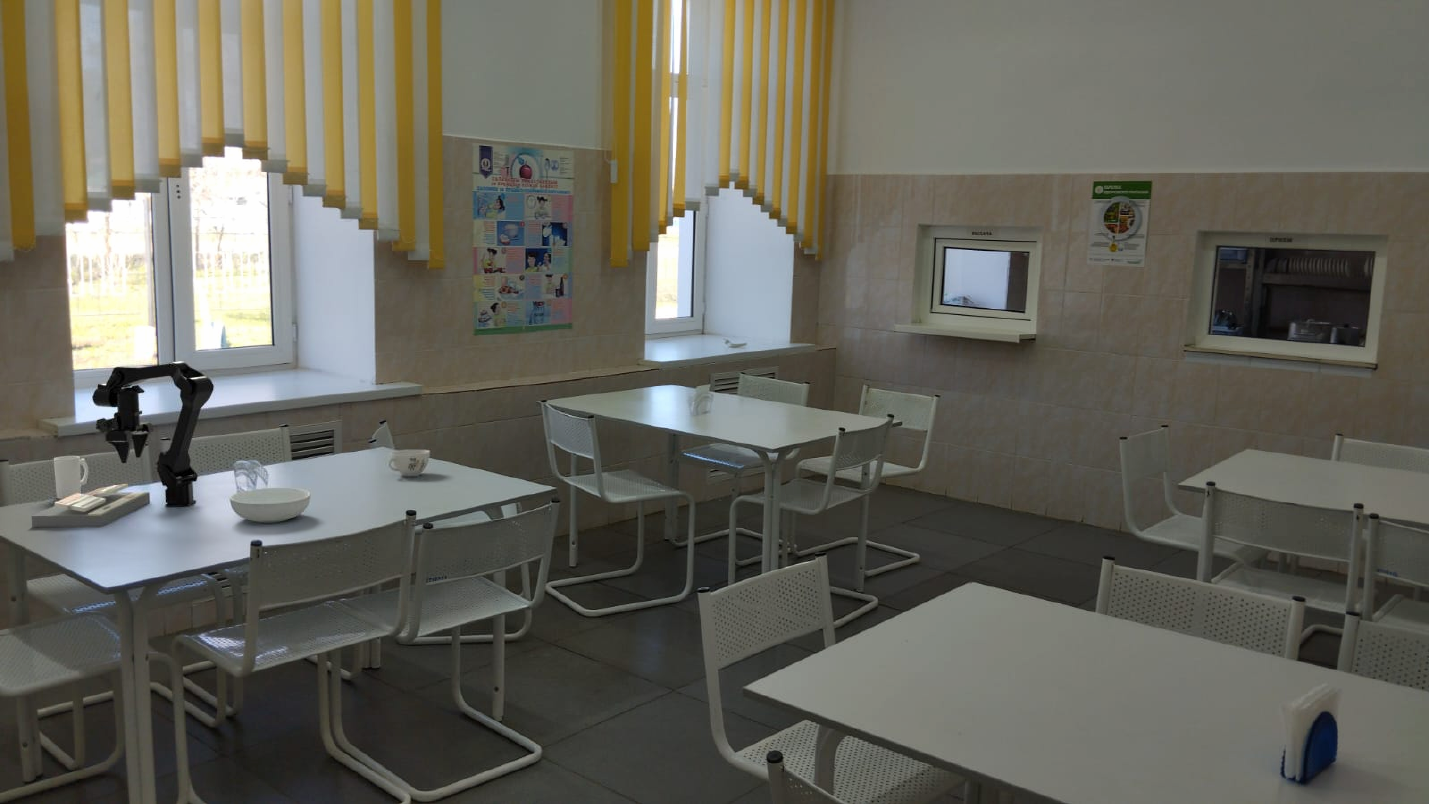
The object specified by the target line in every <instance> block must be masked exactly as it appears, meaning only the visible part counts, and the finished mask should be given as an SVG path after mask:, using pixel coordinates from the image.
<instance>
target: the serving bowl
mask: <svg viewBox="0 0 1429 804" xmlns="http://www.w3.org/2000/svg"><path fill="white" fill-rule="evenodd" d="M229 502H230V505H231V508H232V510H233V512H234V513H235V514H236V515H237V516H238V517H239V518H242V519H245V520H248V521H251V522H252V521H253V522H256V523H262V524H263V523H264V524H268V523H269V524H270V523H279V522H283V521H287V520H289V519H293V518H295V517H297V516H301V514H302V513H304V512H305V511H306V509H307V508H308V507H309V505H310V502H311V492H309V491H308V490H306V489H305V490H304V489H301V488H294V487H292V488H291V487H270V488H268V487H266V488H257V489H256V488H255V489H249V490H245V491H241V492H238V493H234V494H232V495H230V497H229Z"/></svg>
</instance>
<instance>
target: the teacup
mask: <svg viewBox="0 0 1429 804" xmlns="http://www.w3.org/2000/svg"><path fill="white" fill-rule="evenodd" d="M390 454H391V455H390V456H391V458H390V459H389V460H388V467H389V469H390V470H391V471H395V472H399V473H400V474H401V475H402V476H404V477H409V478H410V477H418V476H421V474H422V473H423V472H424V470H425V469H426V468H427V466H428V464H429V462H430V461H429V460H430V455H431V451H430V450H429V449H401V450H399V449H398V450H396V451H391V453H390ZM392 463H393V466H394V467H393V466H392Z"/></svg>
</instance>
